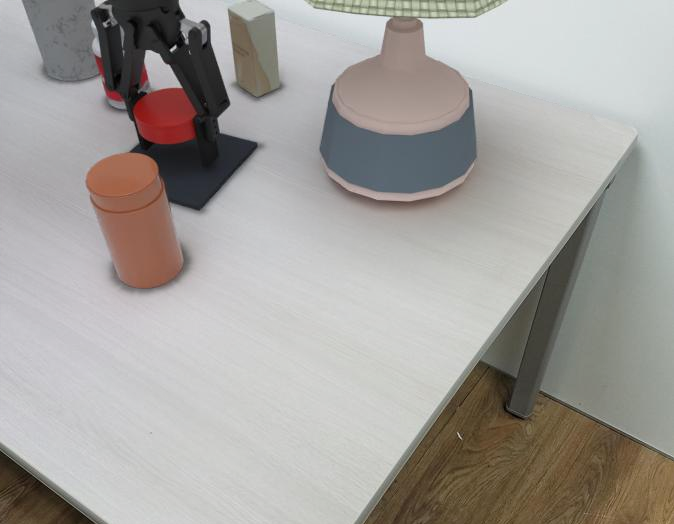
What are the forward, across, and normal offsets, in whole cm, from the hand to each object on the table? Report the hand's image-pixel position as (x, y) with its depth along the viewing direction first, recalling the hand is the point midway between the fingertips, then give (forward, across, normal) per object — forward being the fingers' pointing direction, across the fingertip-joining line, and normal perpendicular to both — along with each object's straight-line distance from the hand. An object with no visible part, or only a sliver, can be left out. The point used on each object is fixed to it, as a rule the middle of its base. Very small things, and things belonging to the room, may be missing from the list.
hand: (179, 152), depth 86 cm
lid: (-6, 0, 0) cm, 6 cm away
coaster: (+2, 0, 0) cm, 2 cm away
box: (+2, 0, +20) cm, 20 cm away
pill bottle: (+2, -15, +10) cm, 18 cm away
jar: (+2, +7, -17) cm, 18 cm away
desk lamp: (+2, +25, +10) cm, 27 cm away
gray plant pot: (+2, -28, +15) cm, 32 cm away
